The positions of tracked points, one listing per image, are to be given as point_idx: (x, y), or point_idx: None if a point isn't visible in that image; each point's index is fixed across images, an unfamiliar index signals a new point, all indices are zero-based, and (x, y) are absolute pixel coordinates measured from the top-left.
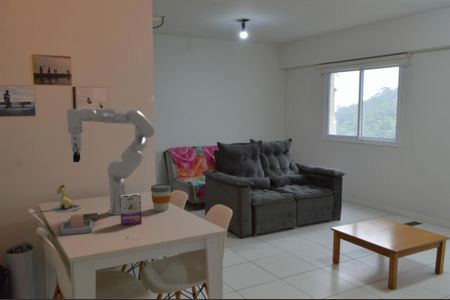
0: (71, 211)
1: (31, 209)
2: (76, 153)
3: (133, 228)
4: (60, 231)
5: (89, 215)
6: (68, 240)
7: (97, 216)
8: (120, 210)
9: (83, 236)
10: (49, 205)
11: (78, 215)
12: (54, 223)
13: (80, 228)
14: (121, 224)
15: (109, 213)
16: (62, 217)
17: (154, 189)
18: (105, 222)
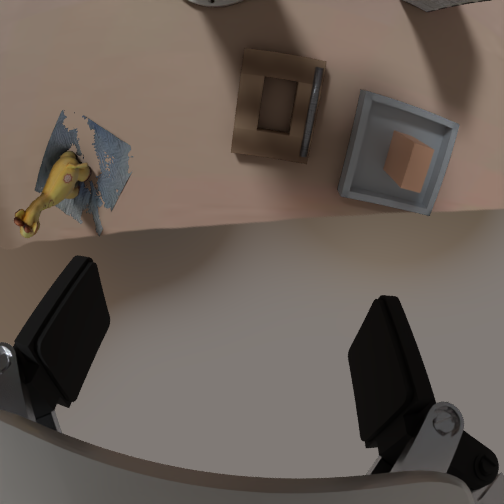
0: (125, 151)
1: None
2: (461, 442)
3: None
4: (428, 213)
5: (263, 84)
6: (473, 195)
7: (300, 56)
8: (455, 5)
9: (469, 153)
10: None
11: (421, 162)
12: (276, 212)
13: (448, 157)
14: (428, 11)
15: (238, 1)
16: (202, 183)
17: None
18: (363, 41)
